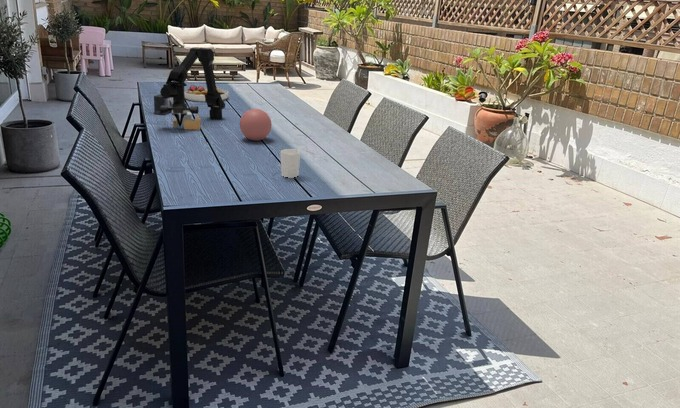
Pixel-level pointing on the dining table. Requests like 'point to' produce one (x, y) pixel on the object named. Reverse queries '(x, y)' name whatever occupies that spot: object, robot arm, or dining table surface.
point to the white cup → (290, 162)
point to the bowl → (201, 93)
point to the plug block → (187, 117)
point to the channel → (175, 122)
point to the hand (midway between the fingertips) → (180, 126)
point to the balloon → (255, 124)
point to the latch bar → (192, 124)
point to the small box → (161, 104)
